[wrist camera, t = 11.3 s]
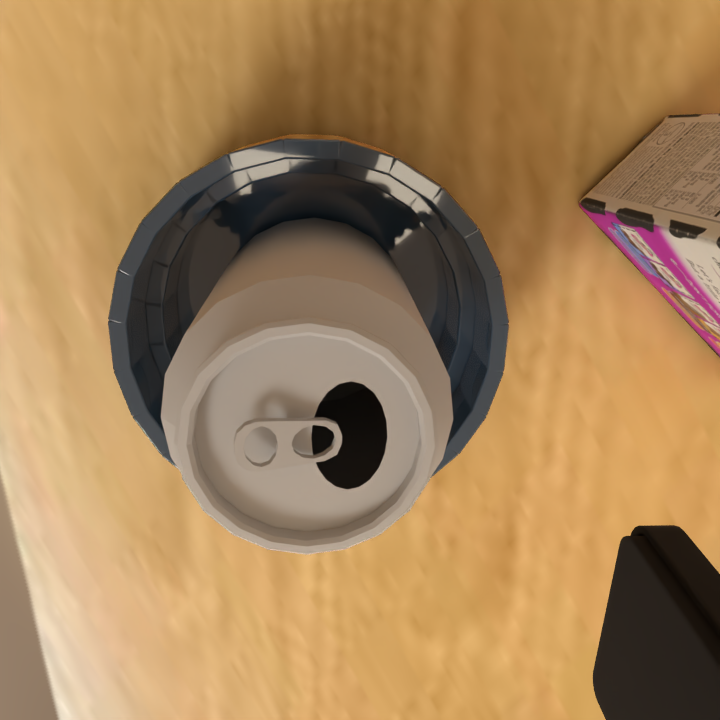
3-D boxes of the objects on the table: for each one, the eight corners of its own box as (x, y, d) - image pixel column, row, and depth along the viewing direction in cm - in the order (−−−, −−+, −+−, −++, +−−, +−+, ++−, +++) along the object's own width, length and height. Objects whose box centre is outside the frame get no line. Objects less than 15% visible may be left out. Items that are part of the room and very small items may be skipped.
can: (401, 394, 28) (453, 581, 17) (223, 392, 28) (155, 583, 16) (411, 216, 25) (482, 296, 14) (216, 211, 25) (129, 289, 14)
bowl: (135, 129, 24) (86, 133, 19) (486, 138, 25) (529, 144, 20) (163, 447, 29) (129, 518, 24) (460, 446, 30) (488, 515, 25)
